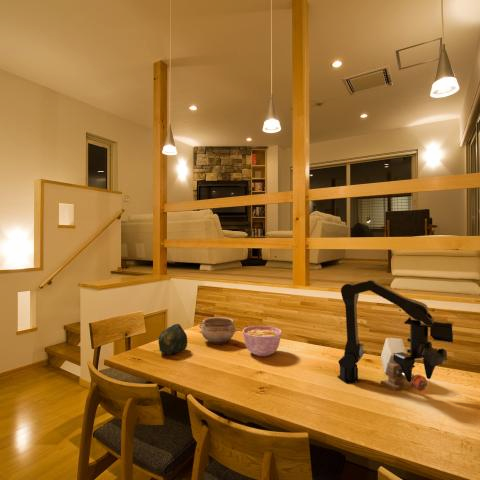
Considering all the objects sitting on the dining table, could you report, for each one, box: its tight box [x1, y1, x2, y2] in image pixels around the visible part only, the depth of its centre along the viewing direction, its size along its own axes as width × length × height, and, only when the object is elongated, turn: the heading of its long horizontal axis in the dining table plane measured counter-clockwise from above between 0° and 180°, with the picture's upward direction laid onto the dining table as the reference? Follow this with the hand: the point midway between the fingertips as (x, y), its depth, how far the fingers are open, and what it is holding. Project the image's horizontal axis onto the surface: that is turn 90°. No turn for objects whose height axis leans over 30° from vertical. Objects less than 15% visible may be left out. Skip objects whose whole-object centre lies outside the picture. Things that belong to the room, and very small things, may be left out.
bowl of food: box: [242, 325, 282, 357], centre depth 154 cm, size 20×20×12 cm
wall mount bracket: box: [380, 362, 414, 391], centre depth 120 cm, size 10×6×8 cm, turn 108°
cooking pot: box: [198, 316, 240, 345], centre depth 172 cm, size 25×19×12 cm
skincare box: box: [380, 337, 408, 375], centre depth 128 cm, size 8×7×16 cm
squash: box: [157, 323, 188, 355], centre depth 156 cm, size 14×15×15 cm
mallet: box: [397, 369, 428, 392], centre depth 117 cm, size 5×16×5 cm, turn 18°
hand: (419, 380), depth 111 cm, fingers open, 9 cm apart
